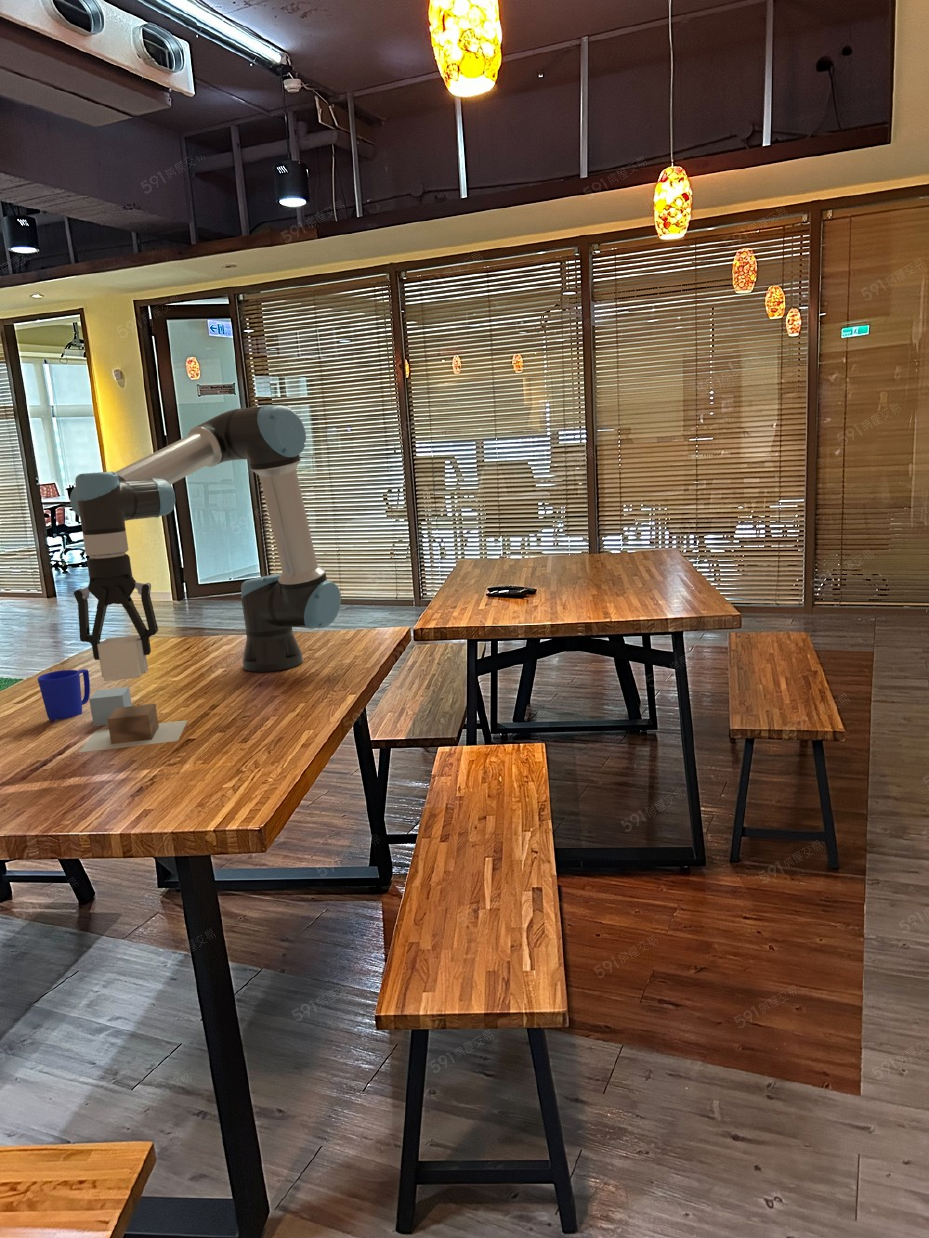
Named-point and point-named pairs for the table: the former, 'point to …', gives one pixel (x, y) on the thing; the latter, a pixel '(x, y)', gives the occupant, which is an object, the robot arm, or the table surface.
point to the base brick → (133, 723)
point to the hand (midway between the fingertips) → (125, 673)
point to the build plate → (162, 735)
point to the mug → (64, 693)
